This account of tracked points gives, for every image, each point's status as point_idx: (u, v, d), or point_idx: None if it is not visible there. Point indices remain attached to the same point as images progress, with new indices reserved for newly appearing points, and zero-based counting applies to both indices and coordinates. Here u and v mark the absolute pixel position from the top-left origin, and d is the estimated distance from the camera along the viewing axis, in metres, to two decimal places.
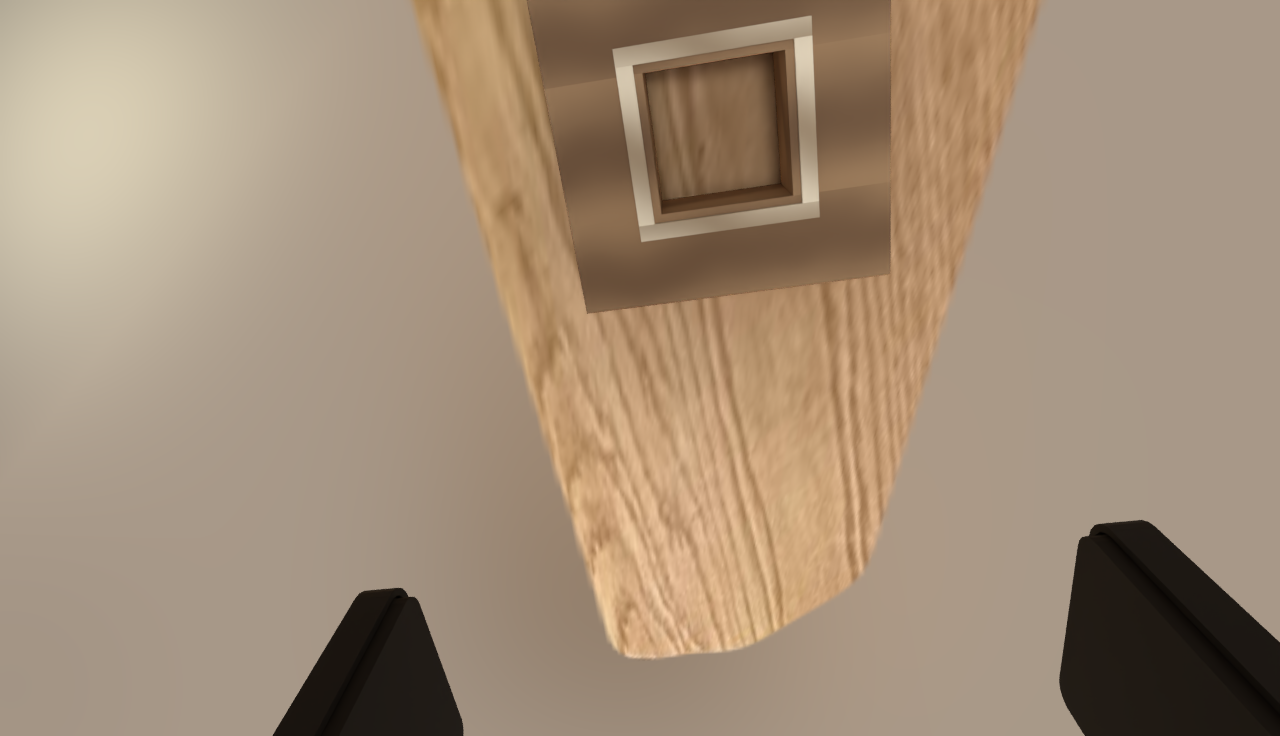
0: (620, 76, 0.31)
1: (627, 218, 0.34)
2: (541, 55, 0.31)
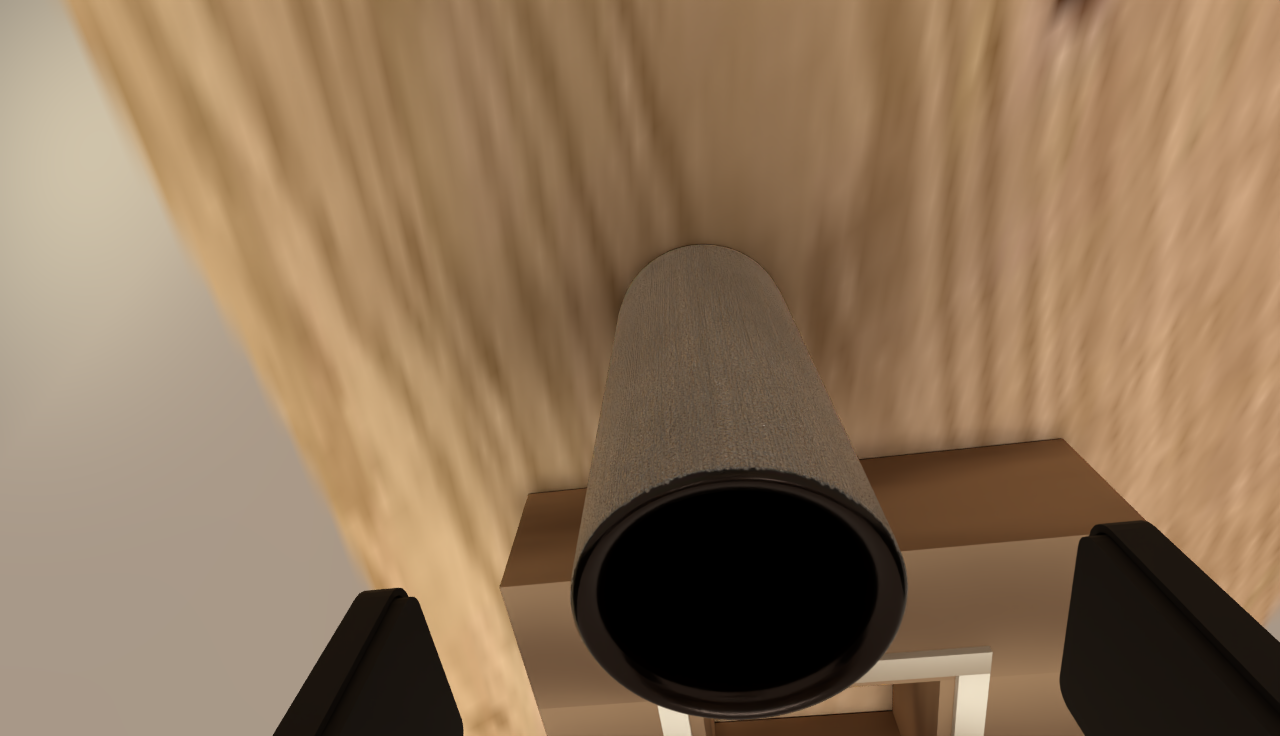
0: None
1: None
2: (534, 674, 0.19)
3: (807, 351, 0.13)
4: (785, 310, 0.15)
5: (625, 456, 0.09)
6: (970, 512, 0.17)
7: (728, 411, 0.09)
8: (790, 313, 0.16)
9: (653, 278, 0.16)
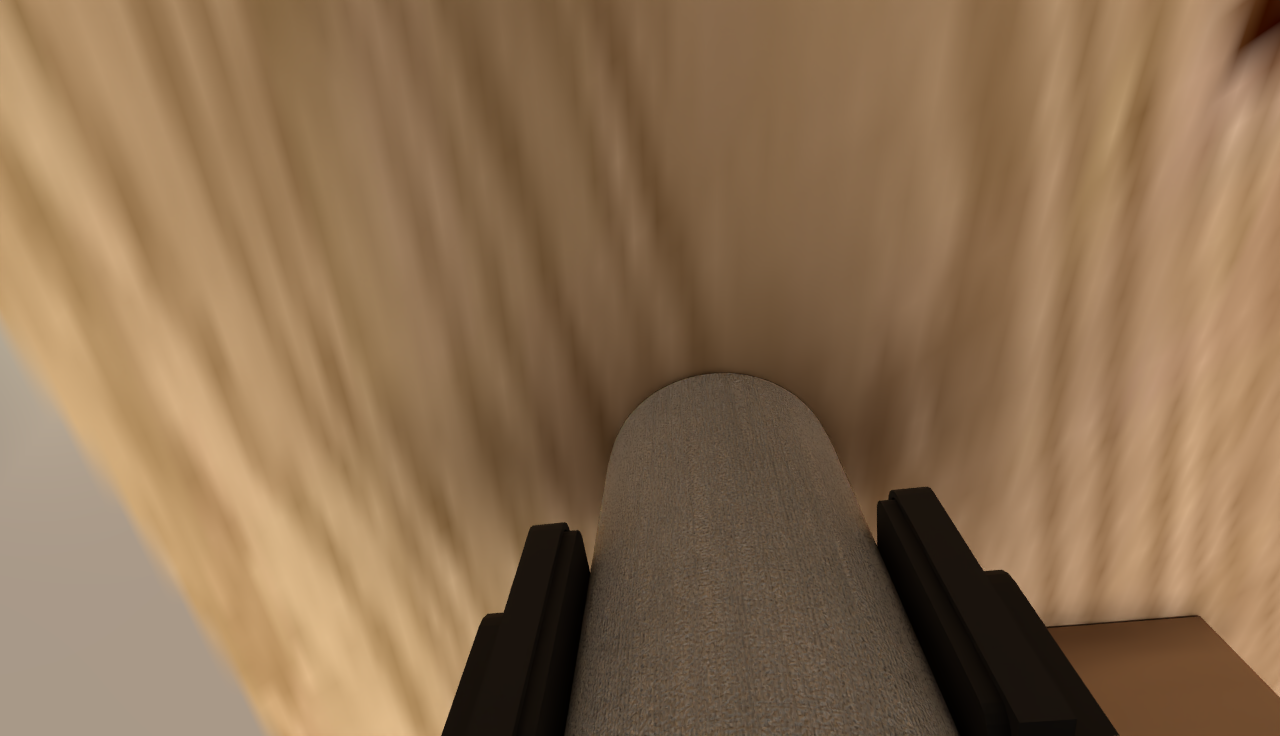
0: None
1: None
2: None
3: (891, 584, 0.09)
4: (847, 494, 0.10)
5: None
6: None
7: None
8: None
9: (655, 433, 0.11)
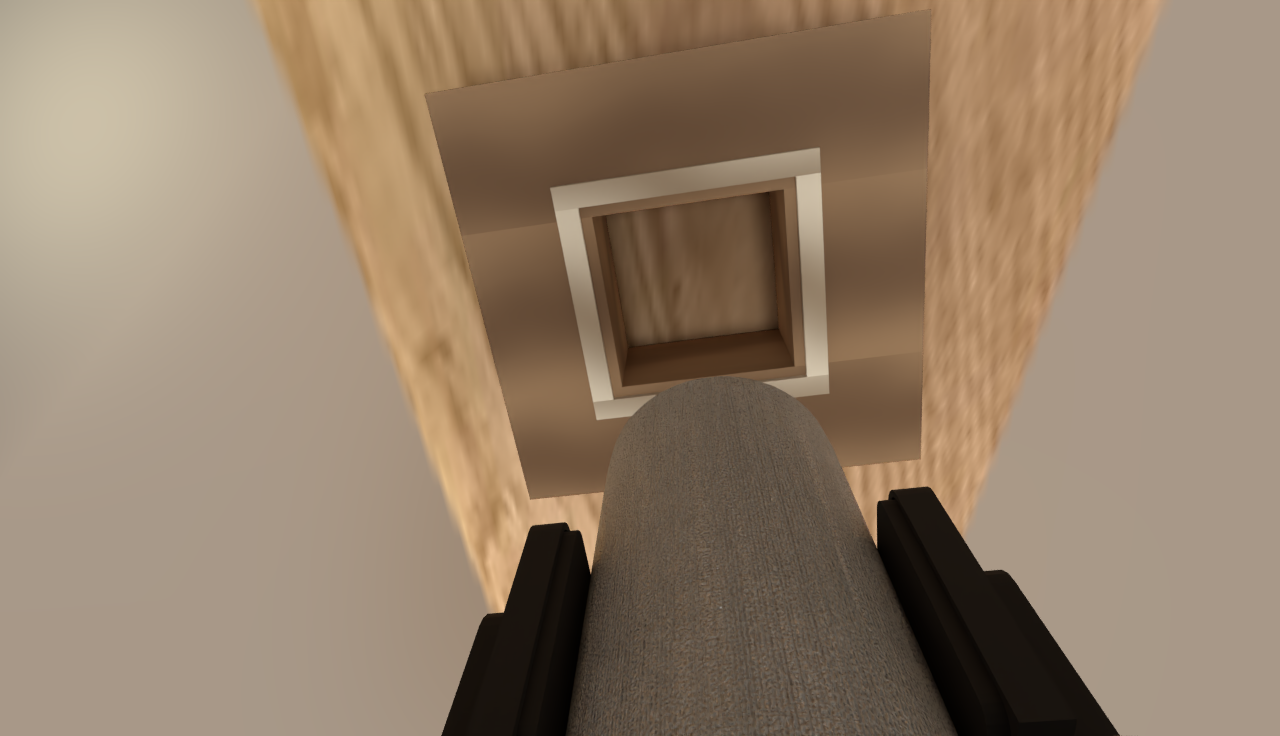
0: (562, 221, 0.23)
1: (578, 391, 0.26)
2: (456, 194, 0.23)
3: (892, 589, 0.09)
4: (848, 498, 0.10)
5: None
6: None
7: None
8: (849, 486, 0.11)
9: (655, 437, 0.11)
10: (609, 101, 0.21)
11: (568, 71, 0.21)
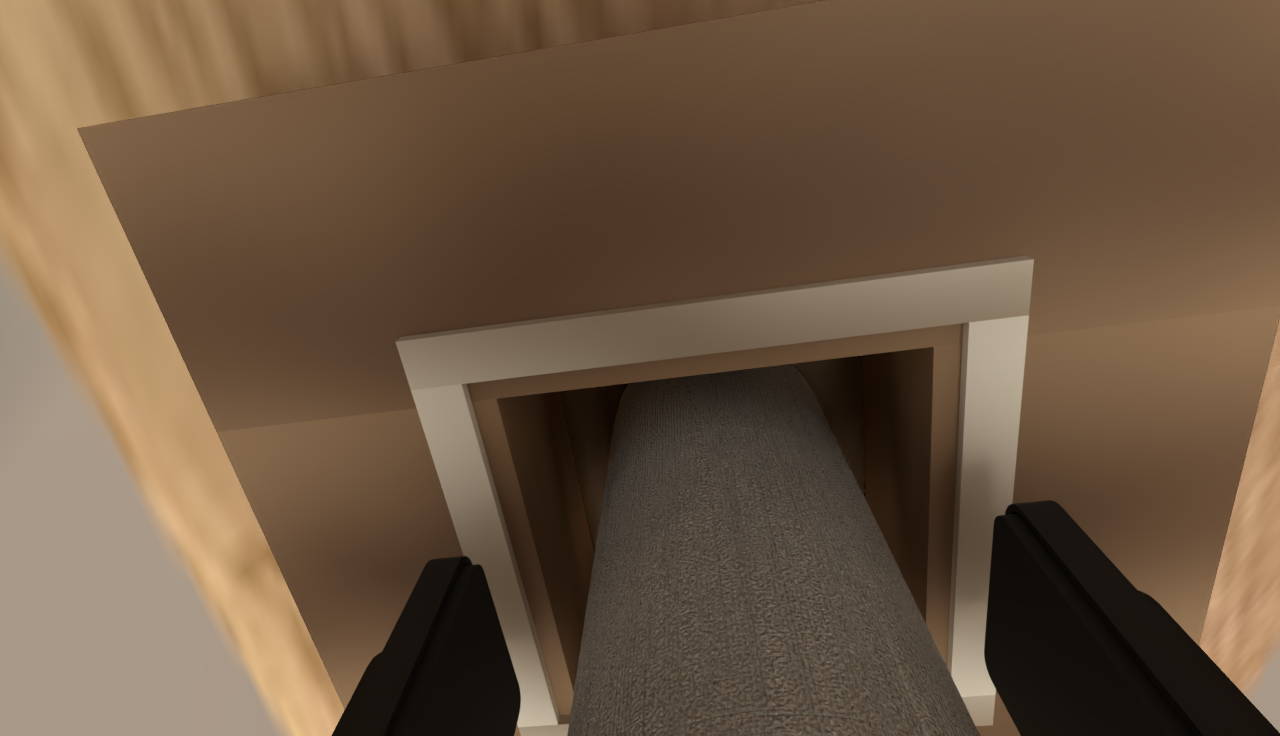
0: (429, 410, 0.10)
1: None
2: (191, 349, 0.10)
3: (865, 499, 0.10)
4: (828, 432, 0.11)
5: None
6: None
7: (785, 679, 0.06)
8: None
9: (658, 384, 0.12)
10: (522, 146, 0.09)
11: (418, 74, 0.08)
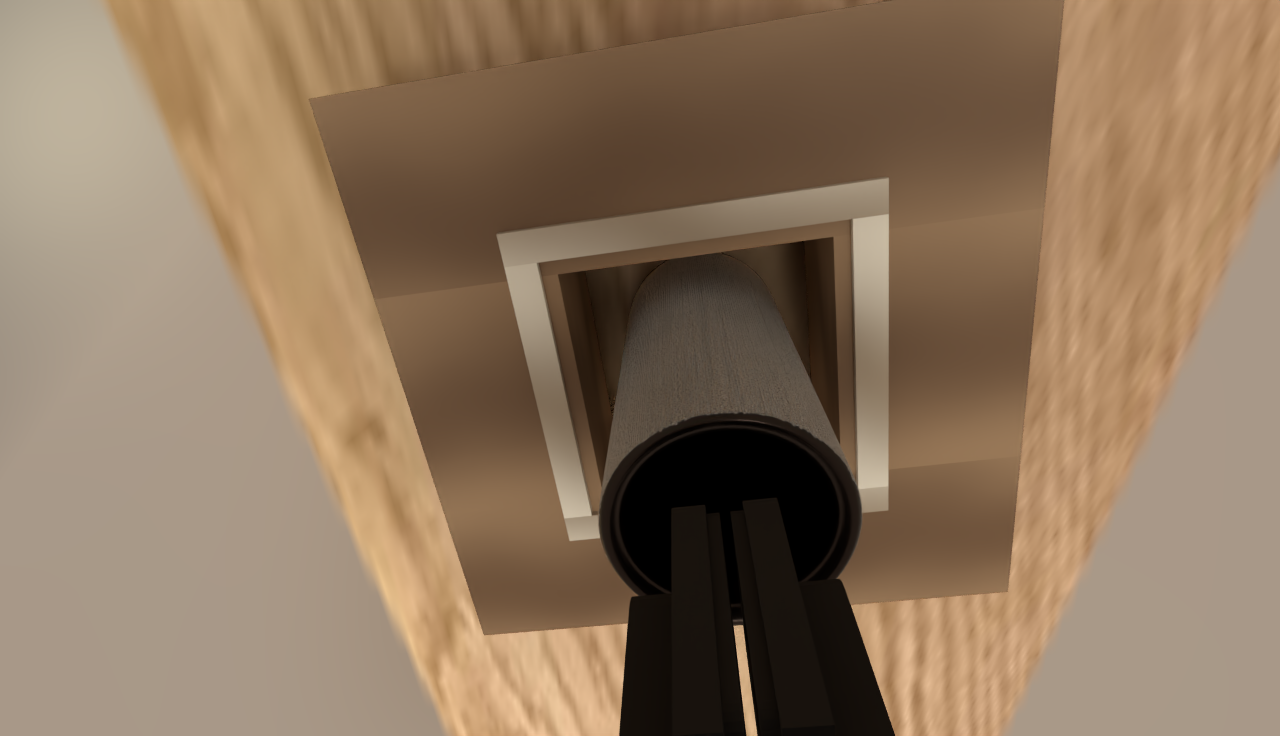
0: (515, 281, 0.16)
1: (543, 503, 0.19)
2: (363, 242, 0.16)
3: (791, 339, 0.16)
4: (773, 306, 0.17)
5: (642, 410, 0.12)
6: None
7: (723, 375, 0.12)
8: (778, 310, 0.18)
9: (660, 279, 0.18)
10: (580, 109, 0.15)
11: (518, 66, 0.14)
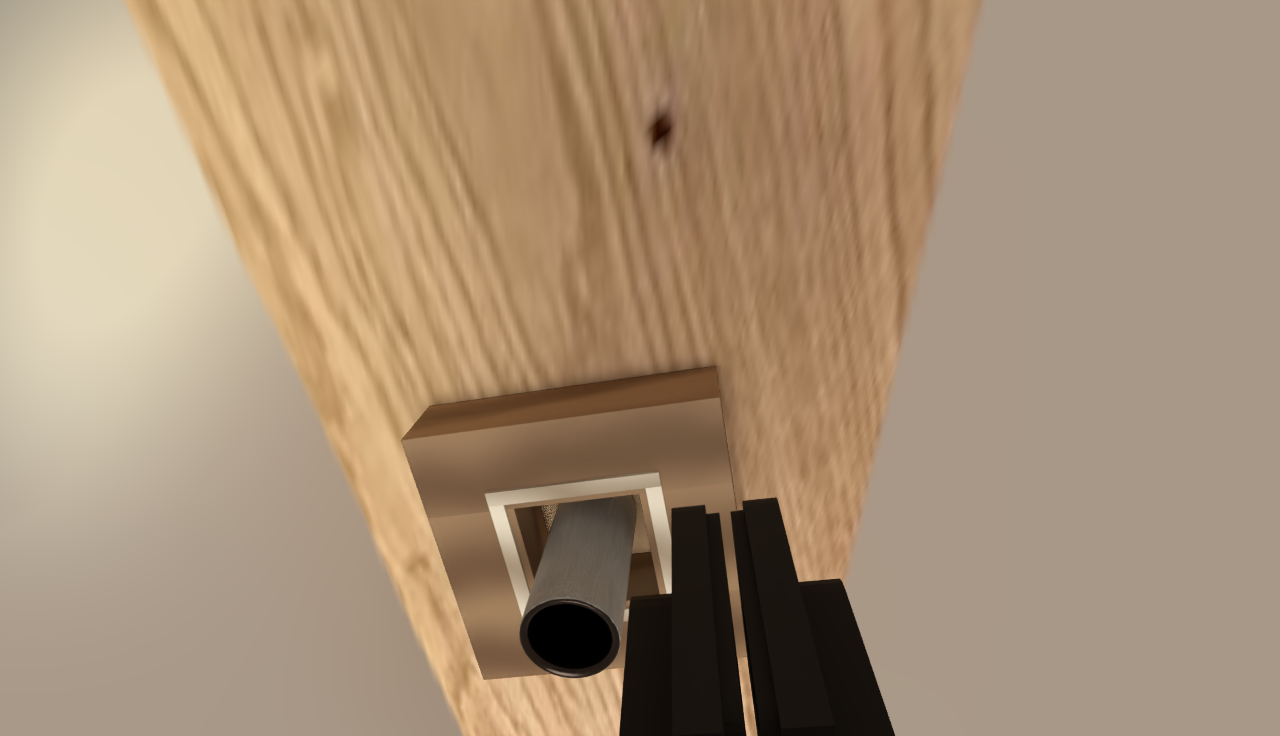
0: (494, 512, 0.34)
1: (512, 611, 0.37)
2: (423, 495, 0.34)
3: (622, 539, 0.34)
4: (621, 516, 0.35)
5: (537, 591, 0.30)
6: (643, 397, 0.33)
7: (568, 577, 0.30)
8: (629, 512, 0.36)
9: None
10: (520, 444, 0.33)
11: (492, 428, 0.33)
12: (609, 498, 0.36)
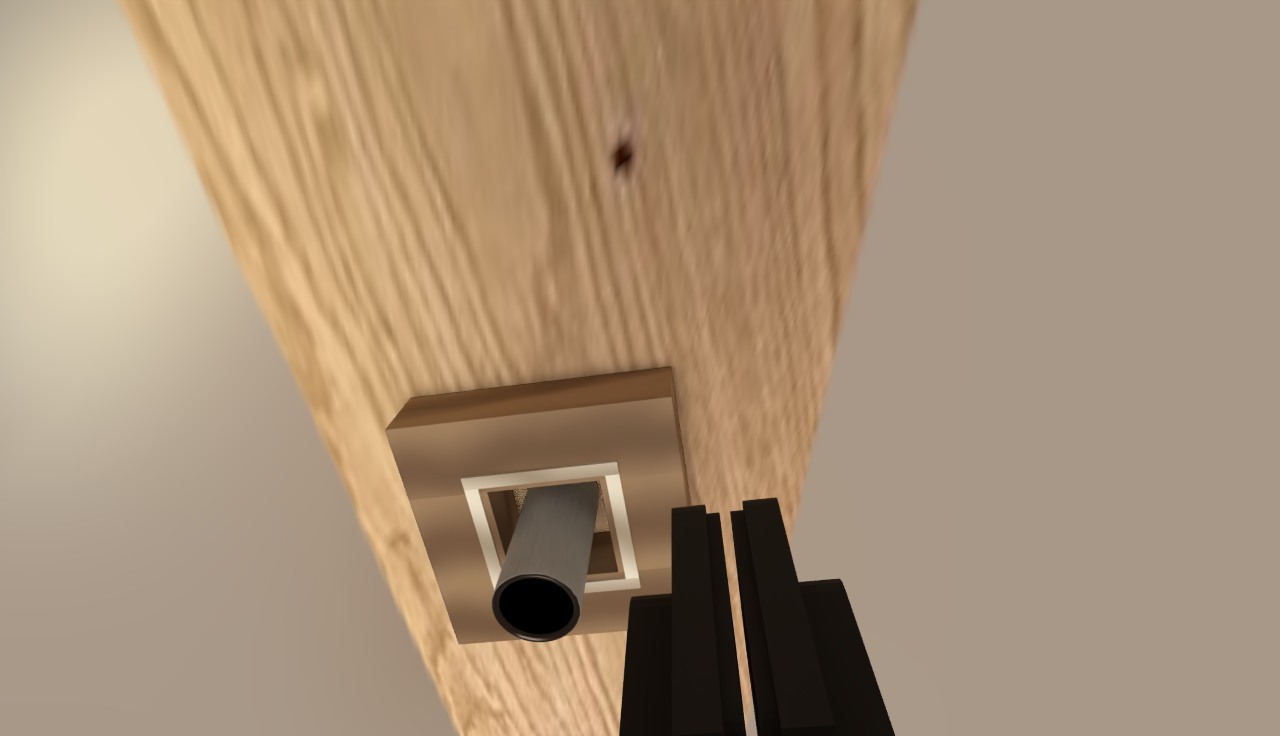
0: (469, 495, 0.38)
1: (485, 583, 0.41)
2: (405, 479, 0.38)
3: (584, 520, 0.38)
4: (584, 499, 0.39)
5: (507, 566, 0.34)
6: (604, 395, 0.37)
7: (535, 555, 0.34)
8: (591, 496, 0.40)
9: None
10: (493, 435, 0.36)
11: (468, 421, 0.36)
12: (574, 483, 0.40)
